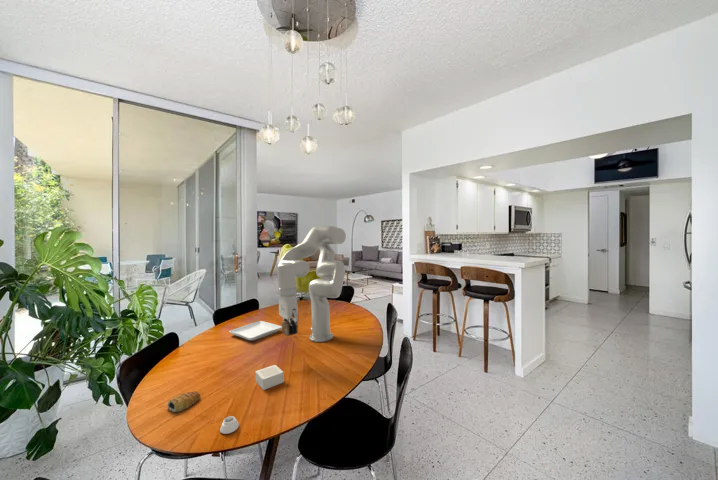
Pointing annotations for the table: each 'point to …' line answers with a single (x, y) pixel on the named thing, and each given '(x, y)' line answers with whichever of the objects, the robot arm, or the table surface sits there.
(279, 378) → the base
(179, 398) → the pastry
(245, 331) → the salad plate
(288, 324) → the cube
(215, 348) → the table surface
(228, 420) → the white jar
